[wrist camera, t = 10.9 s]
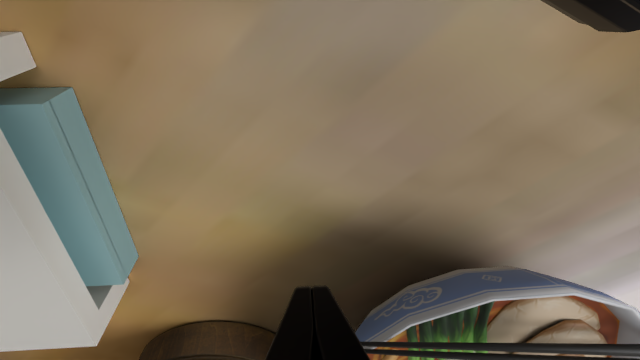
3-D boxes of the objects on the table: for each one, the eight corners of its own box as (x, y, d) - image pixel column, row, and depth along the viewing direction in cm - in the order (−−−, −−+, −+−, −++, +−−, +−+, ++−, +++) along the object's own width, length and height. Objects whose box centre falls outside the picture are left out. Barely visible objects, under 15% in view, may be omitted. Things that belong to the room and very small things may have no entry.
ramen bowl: (283, 375, 34) (281, 481, 27) (328, 186, 22) (345, 289, 15) (508, 381, 37) (556, 475, 31) (651, 224, 25) (783, 319, 19)
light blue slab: (72, 87, 17) (41, 104, 15) (138, 256, 24) (123, 284, 22) (-140, 90, 17) (-202, 108, 14) (-12, 262, 23) (-42, 292, 21)
